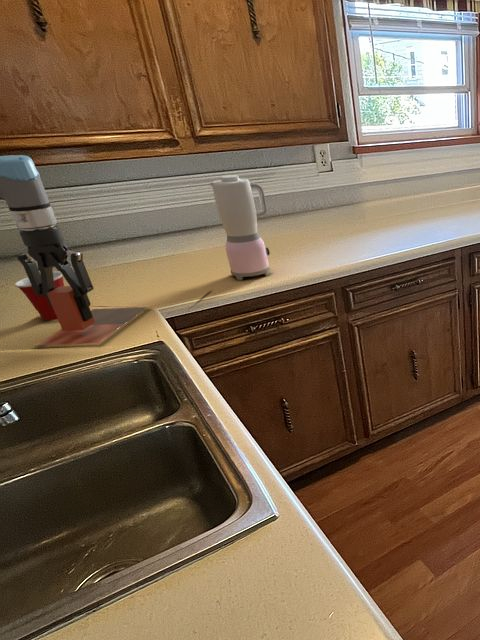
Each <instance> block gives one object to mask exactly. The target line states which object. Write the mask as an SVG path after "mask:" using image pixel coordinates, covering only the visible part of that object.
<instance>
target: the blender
mask: <svg viewBox="0 0 480 640" xmlns="http://www.w3.org/2000/svg"><path fill="white" fill-rule="evenodd" d="M208 185H209V186H210V187H212V191H213V198H214V201H215V205H216V209H217V213H218V216H219V220H220V221H221V224H222V227H223V229H224V231H225V234H226V241H225V252H226V256H227V257H226V258H227V261H228V264H229V267H230V274H231V275H232V277H235V279H236V281H243V280H244V278H246V277H255V276H259V275H264V277H265V276H266V277H267V276H268V275H270V264H269V259H268V256H270V254H271V253H270V249H269V247H267V246H266V245H265V242H264V240H263V239H262V238H261V236H260V234H259V231H258V217H261V216H265V215H266V214H267V212H268V208H267V201H266V197H265V191H264V189H263V186H261V185H260V184H258V183H251V182H250V180H249V179H247V178H240V177H239V175H235V174H232V175H222V176H220V179H217V180H213V181H212V182H211V183H209V184H208ZM252 190H256V191H257V194H258V197H259V198H258V199H259V203H260V209H259V210H257V209H256V208H257V207H256V203H255V199H254V194H253V191H252Z"/></svg>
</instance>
